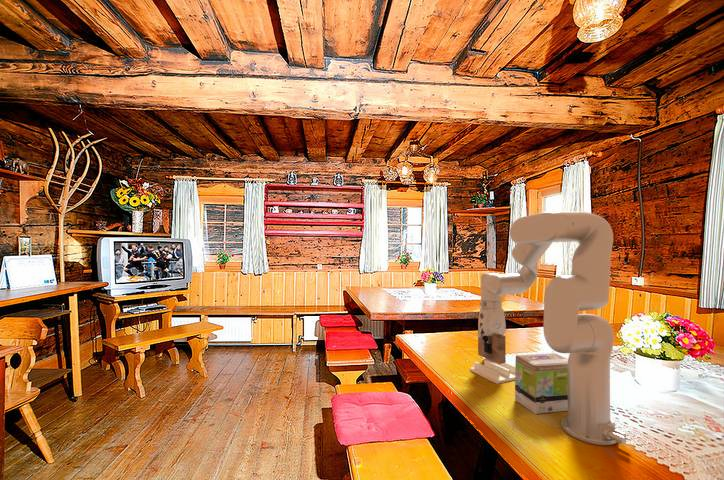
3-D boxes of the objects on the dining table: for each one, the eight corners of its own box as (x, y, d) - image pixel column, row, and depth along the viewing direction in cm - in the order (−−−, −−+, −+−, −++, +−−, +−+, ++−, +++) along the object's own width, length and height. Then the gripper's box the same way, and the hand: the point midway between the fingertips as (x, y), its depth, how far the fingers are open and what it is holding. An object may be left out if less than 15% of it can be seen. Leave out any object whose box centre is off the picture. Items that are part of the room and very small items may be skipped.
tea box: (536, 415, 98) (535, 365, 98) (514, 400, 107) (513, 354, 108) (579, 410, 101) (579, 362, 101) (554, 395, 110) (553, 351, 111)
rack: (524, 377, 125) (524, 368, 125) (496, 383, 120) (496, 374, 120) (496, 365, 138) (496, 356, 138) (470, 370, 133) (470, 361, 133)
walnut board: (505, 362, 124) (505, 336, 124) (499, 364, 122) (499, 337, 122) (483, 353, 134) (483, 329, 134) (478, 354, 132) (478, 329, 133)
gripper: (482, 308, 121) (482, 358, 121) (514, 304, 128) (514, 352, 128) (467, 304, 128) (468, 352, 128) (499, 301, 135) (499, 346, 135)
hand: (491, 351), depth 128 cm, fingers closed on walnut board, 3 cm apart
